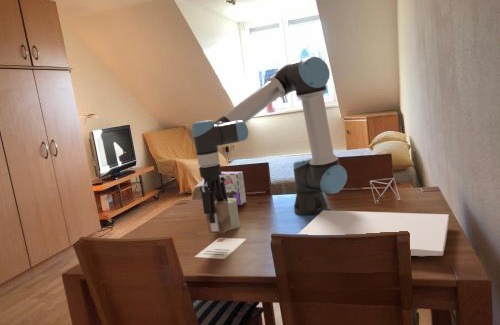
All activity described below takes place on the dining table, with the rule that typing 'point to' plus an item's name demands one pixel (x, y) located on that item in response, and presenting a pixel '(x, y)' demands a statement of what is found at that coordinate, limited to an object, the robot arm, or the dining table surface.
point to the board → (386, 227)
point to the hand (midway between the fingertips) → (220, 227)
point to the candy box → (234, 186)
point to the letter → (220, 248)
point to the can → (233, 213)
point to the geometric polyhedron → (385, 188)
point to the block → (221, 217)
